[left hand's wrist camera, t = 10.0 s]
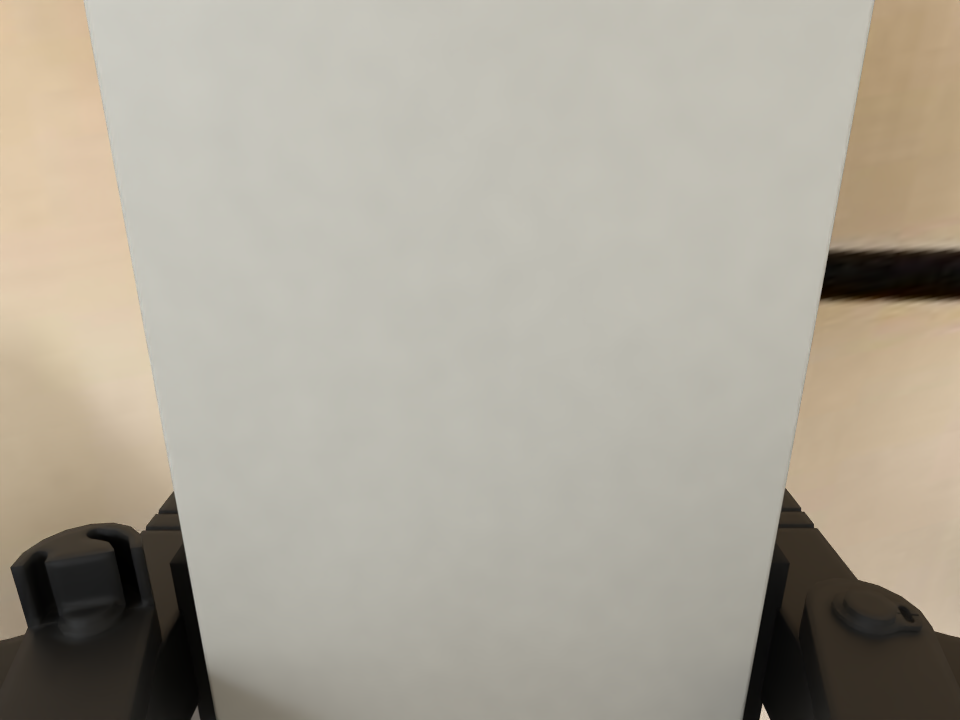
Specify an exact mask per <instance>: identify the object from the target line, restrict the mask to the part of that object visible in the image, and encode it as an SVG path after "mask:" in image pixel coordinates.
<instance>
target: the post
mask: <svg viewBox="0 0 960 720" xmlns="http://www.w3.org/2000/svg"><path fill="white" fill-rule="evenodd" d="M874 1H875V0H84V5H85V10H86V16H87V21H88V26H89V32H90V37H91V43H92V48H93V54H94V59H95V64H96V70H97V75H98V81H99V86H100V92H101V97H102V102H103V108H104V113H105V119H106V124H107V129H108V135H109V140H110V146H111V151H112V157H113V162H114V167H115V173H116V178H117V184H118V189H119V195H120V200H121V205H122V211H123V216H124V222H125V227H126V233H127V238H128V243H129V249H130V254H131V260H132V265H133V271H134V276H135V281H136V287H137V292H138V298H139V303H140V309H141V314H142V319H143V325H144V330H145V336H146V341H147V346H148V352H149V357H150V363H151V368H152V374H153V379H154V384H155V390H156V395H157V401H158V406H159V412H160V417H161V422H162V428H163V433H164V439H165V444H166V450H167V455H168V460H169V466H170V471H171V477H172V482H173V488H174V493H175V498H176V504H177V509H178V515H179V520H180V526H181V531H182V536H183V542H184V547H185V553H186V558H187V564H188V569H189V574H190V580H191V585H192V591H193V596H194V601H195V607H196V612H197V618H198V623H199V629H200V634H201V639H202V645H203V650H204V656H205V661H206V667H207V672H208V677H209V683H210V688H211V694H212V699H213V705H214V710H215V715H216V720H743V714H744V709H745V703H746V698H747V692H748V687H749V682H750V676H751V671H752V665H753V660H754V654H755V649H756V643H757V638H758V633H759V627H760V622H761V616H762V611H763V605H764V600H765V594H766V589H767V584H768V578H769V573H770V567H771V562H772V556H773V551H774V546H775V540H776V535H777V529H778V524H779V518H780V513H781V507H782V502H783V497H784V491H785V486H786V480H787V475H788V469H789V464H790V458H791V453H792V448H793V442H794V437H795V431H796V426H797V420H798V415H799V409H800V404H801V399H802V393H803V388H804V382H805V377H806V371H807V366H808V361H809V355H810V350H811V344H812V339H813V333H814V328H815V322H816V317H817V312H818V306H819V301H820V295H821V290H822V284H823V279H824V273H825V268H826V263H827V257H828V252H829V246H830V241H831V235H832V230H833V225H834V219H835V214H836V208H837V203H838V197H839V192H840V186H841V181H842V176H843V170H844V165H845V159H846V154H847V148H848V143H849V137H850V132H851V127H852V121H853V116H854V110H855V105H856V99H857V94H858V89H859V83H860V78H861V72H862V67H863V61H864V56H865V50H866V45H867V40H868V34H869V29H870V23H871V18H872V12H873V7H874Z"/></svg>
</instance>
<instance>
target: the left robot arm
mask: <svg viewBox="0 0 960 720" xmlns="http://www.w3.org/2000/svg"><path fill="white" fill-rule="evenodd" d="M10 568H11V571H12V575H13V578H14V581H15V585H16V588H17V591H18V595H19V598H20V601H21V605H22V608H23V612H24V615H25V618H26V622H27V625H28V629H27V631H26V633H25V635H21V636H18V637H14V638H11V639H6V640H1V641H0V720H216V715H215V710H214V705H213V699H212V694H211V688H210V683H209V677H208V672H207V667H206V661H205V656H204V650H203V645H202V639H201V634H200V629H199V623H198V618H197V612H196V607H195V601H194V596H193V591H192V585H191V580H190V574H189V569H188V564H187V558H186V553H185V547H184V542H183V536H182V531H181V526H180V520H179V515H178V509H177V504H176V498H175V493H174V492H173V493H172V494H171V495H170V497H169V498H168V499H167V500H166V502H165V503H164V504H163V506H162V507H161V508H160V509H159V514H156V515H155V516H154V517H153V518H152V520H151V521H150V522H149V523H148V525H147V526H146V531H142V532H141V534H139V533H138V532H137V531H136V530H134V529H133V528H132V527H130V526H126V525H121V524H116V523H101V524H89V525H85V526H81V527H77V528H72V529H68V530H65V531H63V532H60V533H58V534H56V535H53V536H51V537H48V538H46V539H44V540H42V541H40V542H39V543H37V544H36V545H34V546H33V547H31V548H30V549H28V550H27V551H25V552H24V553H23V554H22V555H21V556H20V557H19V558H18V559H17V560H16V562H15V563H14V564H13V565H12V566H11V567H10ZM762 703H763V705H764V707H765V709H766V711H767V714H768V716H769V718H770V720H960V638H959V637H954V636H949V635H946V634H942V633H939V632H935V631H934V630H933V628H932V626H931V625H930V623H929V622H928V621H927V619H926V618H925V616H924V615H923V614H922V612H921V611H920V610H919V609H917V608H916V607H915V606H913V605H912V604H911V603H909V602H908V601H907V600H906V599H904V598H903V597H902V596H899V595H897V594H895V593H893V592H891V591H889V590H887V589H885V588H883V587H881V586H878V585H875V584H871V583H867V582H864V581H860V580H858V579H857V578H856V577H855V576H854V574H853V573H852V572H851V571H850V569H849V568H848V567H847V565H846V564H845V563H844V562H843V560H842V559H841V558H840V557H839V555H838V554H837V553H836V552H835V550H834V549H833V548H832V546H831V545H830V544H829V543H828V541H827V540H826V539H825V538H824V536H823V535H822V534H821V533H820V531H819V530H818V529H817V528H814V524H813V522H812V521H811V520H810V519H809V517H808V516H807V515H806V514H805V512H801V507H800V506H799V505H798V503H797V502H796V501H795V500H794V498H793V497H792V496H791V495H790V493H789V492H788V491H787V489H786V488H785V491H784V497H783V502H782V507H781V513H780V518H779V524H778V529H777V535H776V540H775V546H774V551H773V556H772V562H771V567H770V573H769V578H768V584H767V589H766V594H765V600H764V605H763V611H762V616H761V622H760V627H759V633H758V638H757V643H756V649H755V654H754V660H753V665H752V671H751V676H750V682H749V687H748V692H747V698H746V703H745V709H744V714H743V720H759V719H760V713H761V708H762Z"/></svg>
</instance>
